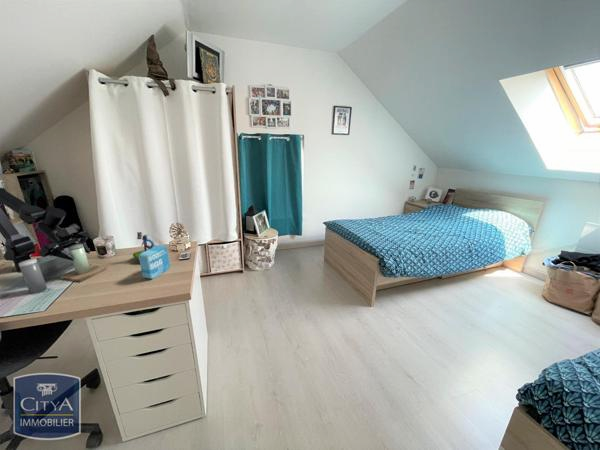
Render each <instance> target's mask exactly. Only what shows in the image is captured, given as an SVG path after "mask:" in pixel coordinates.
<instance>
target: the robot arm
mask: <svg viewBox="0 0 600 450" xmlns="http://www.w3.org/2000/svg"><path fill="white" fill-rule="evenodd" d="M0 204H2V205H4V206H5V207H7V208H9V209H10V210H12V211H14V212H15V213H16V214H18V219H20V220H22V222H24V223H25V224H27V225H33V224H37V225H35V228H34V231H35V232H36V233H38V232H41V233H42V234H43V235H44V236H45V237H46V240H47V241H48V242H49V241H51V242H49V243H47V244H43V245H42V247H41V248H40V249H39V252H38V253H39V255H40V257H46V256H49V255H50V256H56V257H60V258H64V259H68V260H72V261H73V260H74V258H73V257H72V256H71V255H70V254H68V253H67V252H66V251H65V250H64V249H65V248H64V247H65V246H68V245H72V244H73V243H75V244H83V246H84V250H85V253H86V254H90V253H91V251H90V249H89V247H88V245H87V242H86V241H87V240H88V239H89V237H90V236H91V233H90V232H88V231H86V230H84V231H80V232H79V230H80V229H81V228H80V226H79V225H78V224H76V223H72V224H71V225H69V226H68V227H60V226H59V225H61V224H62V222H63V220H64V219H65V217H66V216H67V212H66V211H65V210H64V209H62V208H59V207H54V206H53V205H52V206H51V205H50V206H47V207H46V208H45V209H43V208H41V207H40V206H37V205H32V204H28V203H27V202H25V201H23V200H22V199H20V198H18V197H17V196H16V195H13V194H12V193H11V192H8V190H7V189H6V188H4V187H0ZM0 234H1V235H2V237H3V238H4V239H5V241H4V248H5V249H6V250H5V253H4V254H3V258H4V260H5V261H12V262H13V264H14V267H15V268H12V269H11V271H14V272H19V273H22V272H21V269H20V267H19V263H20V262H22V261H25V260H30V259H32V257H31V255H34V254H36V244H35V243H34V241H32V239H31V237H30V236H29V235H26V236H24V235H22V234H20V232H19V231H18V229H17V228H16V227H15V225H14V224H13V222H12V221H11V220H10V218H9V217H8V216H7V214H6V213H5V211H4V210H3V208H2V207H1V206H0ZM74 234H76V235H74ZM72 237H73V238H72Z"/></svg>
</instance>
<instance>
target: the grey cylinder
mask: <svg viewBox="0 0 600 450" xmlns="http://www.w3.org/2000/svg"><path fill="white" fill-rule="evenodd" d="M19 267H20V269H21V272H20V273H21V274H22V277H23V279H24V281H25V284H26V287H27V289H28V292H29V294H31V295H34V294H40V293H42V292H44V291H46V290H47V289H48V287H47V284H46V281H44V278H43V275H42V273H41V270H40V267H39V264H38V262H37V259H36V258H31V259H30V260H25V261H22V262H20V263H19Z"/></svg>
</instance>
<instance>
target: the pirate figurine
mask: <svg viewBox="0 0 600 450" xmlns="http://www.w3.org/2000/svg"><path fill="white" fill-rule="evenodd" d="M136 233H137V238H136V239H137V240H142V243H141V245H139V248H142V247H143V249H142V250H139V251H136V252H133V254H132V256H133V258H134V259H136V260H139V255H140V254H141V253H143V252H145V251H147V250H149V249H151V248H153V247H155V243H154V242H153V240H152V239H150V238H149V239H148V234H143V232H142V231H139V232H136ZM148 242H149V243H150V244H151V245H150V244H148Z"/></svg>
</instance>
